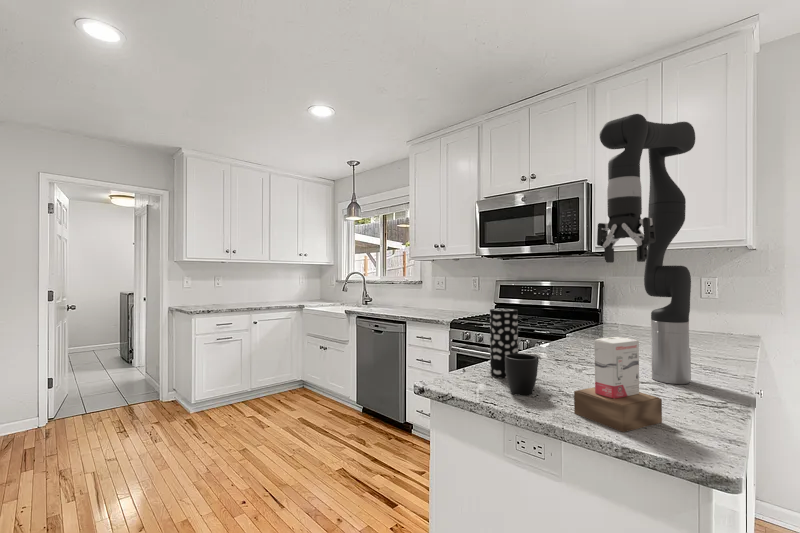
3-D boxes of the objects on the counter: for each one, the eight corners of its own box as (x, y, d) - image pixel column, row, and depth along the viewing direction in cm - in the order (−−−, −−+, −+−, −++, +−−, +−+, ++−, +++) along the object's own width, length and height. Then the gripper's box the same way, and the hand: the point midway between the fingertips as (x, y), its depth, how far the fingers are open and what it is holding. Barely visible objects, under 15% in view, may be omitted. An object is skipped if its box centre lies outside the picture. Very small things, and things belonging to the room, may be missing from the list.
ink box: (613, 399, 86) (612, 342, 86) (593, 393, 90) (592, 339, 90) (640, 394, 89) (640, 339, 89) (620, 388, 94) (619, 336, 94)
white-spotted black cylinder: (521, 378, 123) (521, 311, 123) (493, 378, 123) (493, 311, 123) (514, 371, 131) (513, 308, 131) (488, 371, 131) (487, 308, 131)
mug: (551, 390, 110) (551, 354, 111) (526, 399, 103) (525, 361, 103) (524, 384, 117) (524, 350, 117) (498, 392, 109) (498, 356, 109)
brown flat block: (611, 405, 98) (611, 383, 98) (661, 422, 87) (661, 397, 87) (574, 413, 93) (574, 390, 93) (623, 432, 82) (622, 405, 82)
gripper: (662, 193, 98) (663, 261, 98) (609, 202, 111) (610, 262, 111) (641, 191, 95) (642, 261, 95) (589, 200, 108) (590, 262, 108)
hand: (624, 262), depth 103 cm, fingers open, 8 cm apart
